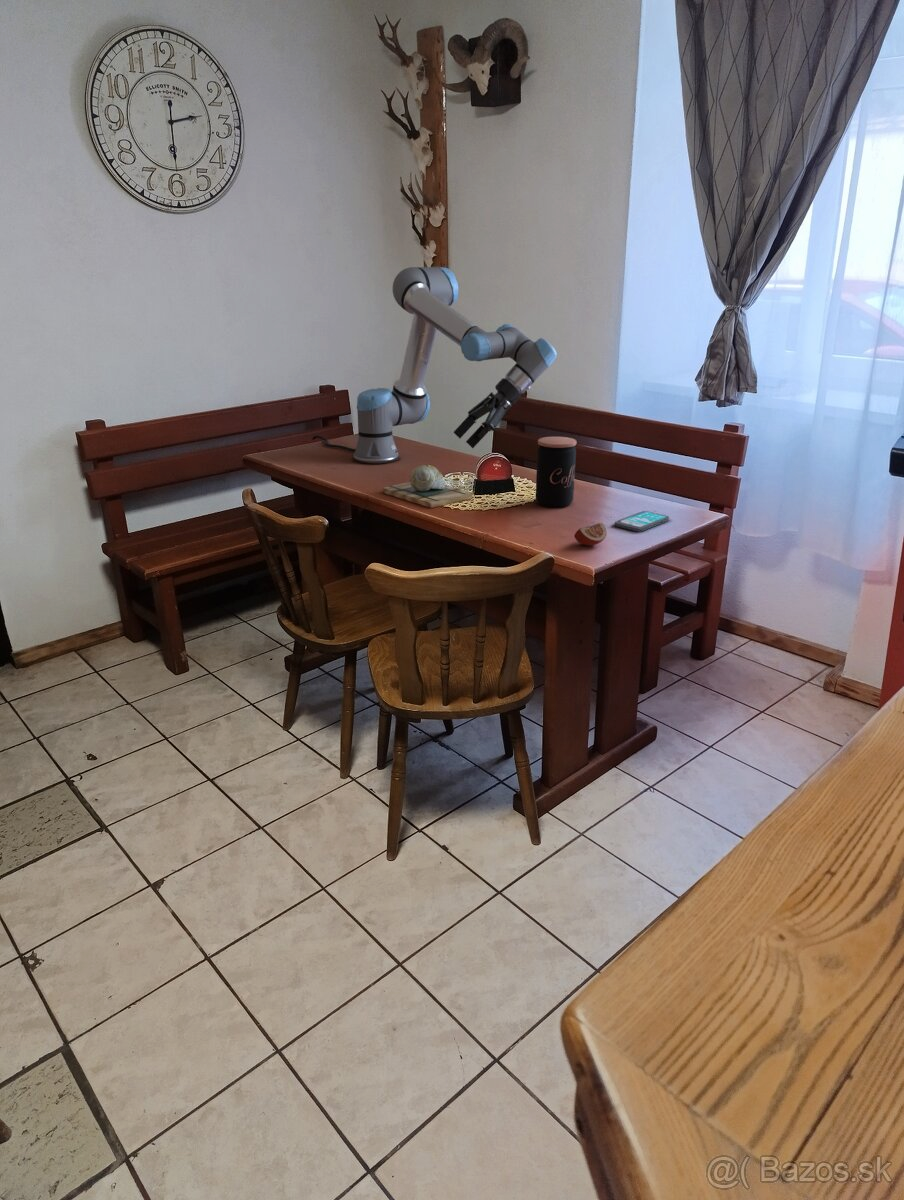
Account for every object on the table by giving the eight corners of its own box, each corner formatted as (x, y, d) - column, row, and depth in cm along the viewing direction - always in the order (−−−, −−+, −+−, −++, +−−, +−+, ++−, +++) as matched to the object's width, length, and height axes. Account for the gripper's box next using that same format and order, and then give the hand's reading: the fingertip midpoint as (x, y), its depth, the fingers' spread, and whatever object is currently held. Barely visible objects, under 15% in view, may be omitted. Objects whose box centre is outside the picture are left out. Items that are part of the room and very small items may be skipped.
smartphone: (612, 521, 212) (644, 509, 221) (612, 525, 212) (643, 513, 222) (640, 528, 206) (671, 516, 216) (640, 532, 206) (671, 519, 216)
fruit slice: (591, 538, 203) (592, 518, 201) (612, 544, 198) (613, 525, 196) (568, 545, 198) (569, 525, 196) (589, 552, 193) (590, 532, 191)
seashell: (446, 481, 244) (446, 455, 237) (443, 503, 238) (443, 478, 231) (412, 479, 245) (411, 453, 237) (408, 501, 239) (407, 475, 231)
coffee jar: (548, 510, 225) (551, 445, 218) (528, 501, 234) (530, 438, 227) (580, 505, 229) (584, 442, 222) (559, 496, 238) (562, 435, 231)
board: (383, 492, 242) (382, 487, 241) (423, 483, 252) (423, 478, 251) (431, 508, 227) (431, 502, 226) (472, 497, 237) (472, 492, 236)
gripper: (536, 402, 226) (483, 458, 229) (507, 388, 249) (459, 439, 251) (519, 383, 223) (465, 440, 225) (491, 371, 245) (443, 423, 247)
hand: (462, 440), depth 238 cm, fingers open, 13 cm apart
